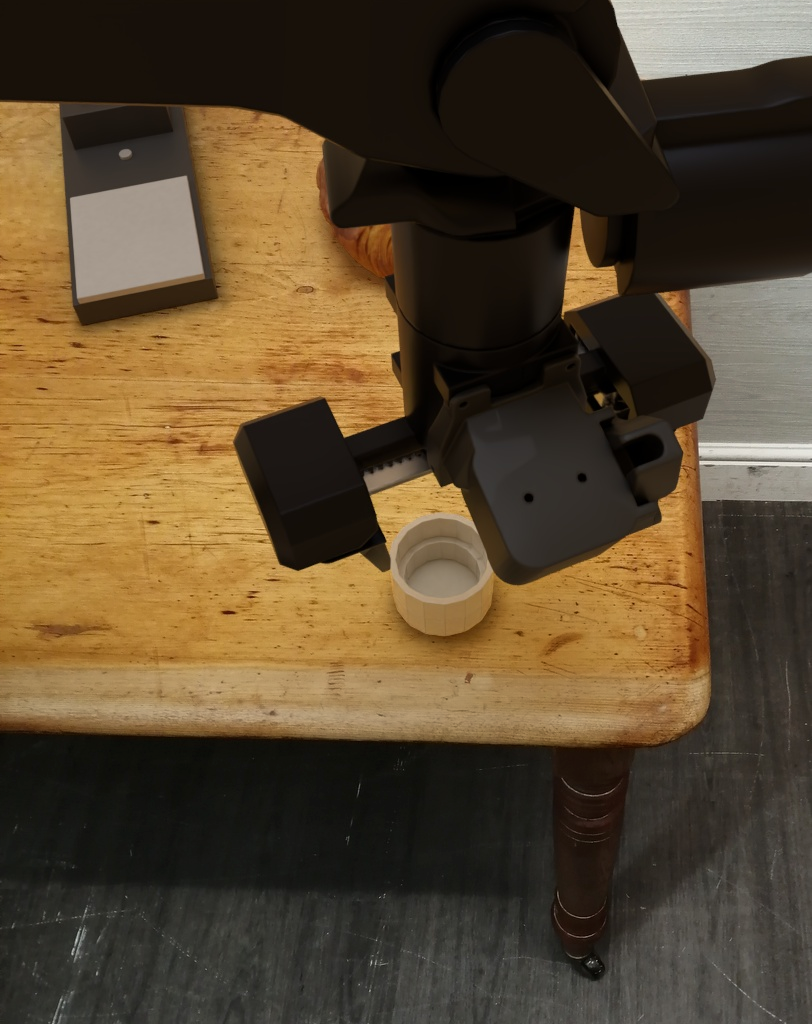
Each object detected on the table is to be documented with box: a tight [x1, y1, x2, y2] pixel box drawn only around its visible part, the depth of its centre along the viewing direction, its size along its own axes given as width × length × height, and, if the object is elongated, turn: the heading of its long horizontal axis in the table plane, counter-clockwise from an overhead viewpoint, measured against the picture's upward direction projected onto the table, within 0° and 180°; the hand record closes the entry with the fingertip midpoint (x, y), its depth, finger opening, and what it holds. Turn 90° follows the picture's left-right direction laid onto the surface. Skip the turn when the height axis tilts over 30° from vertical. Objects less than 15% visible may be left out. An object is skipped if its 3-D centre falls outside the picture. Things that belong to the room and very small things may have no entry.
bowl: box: [389, 511, 495, 637], centre depth 56 cm, size 6×6×4 cm
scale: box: [58, 104, 219, 326], centre depth 77 cm, size 10×26×5 cm, turn 13°
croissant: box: [315, 157, 394, 279], centre depth 73 cm, size 14×16×8 cm
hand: (473, 528), depth 47 cm, fingers open, 9 cm apart
